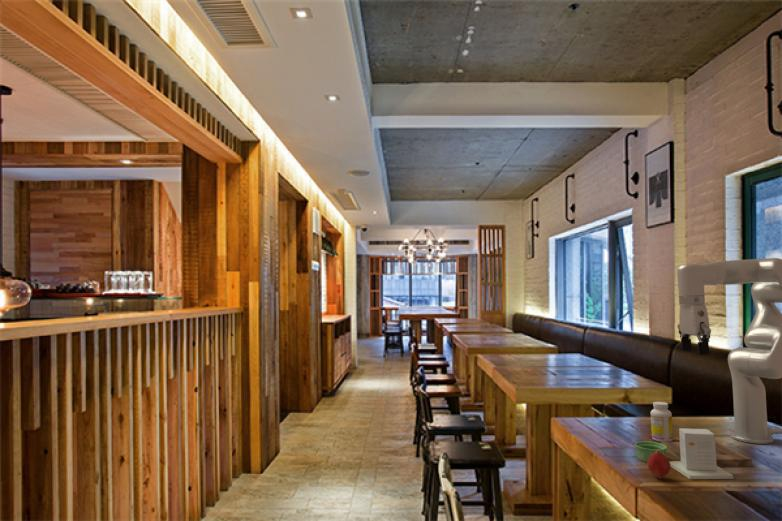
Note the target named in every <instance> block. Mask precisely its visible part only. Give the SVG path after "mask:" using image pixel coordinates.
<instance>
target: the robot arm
mask: <svg viewBox="0 0 782 521" xmlns="http://www.w3.org/2000/svg"><path fill="white" fill-rule="evenodd" d="M676 270H677V272H676V273H677V274H676V275H677V289H678V303H679V304H678V305H679V322H678V324H677V329H678V334H679V338H680V346H681V348H680V349H681V351H682V352H684V351H685V352H689V351H690V352H691V351H692V338H691V336H694V337H696V338H697V340H698V342H697V354H698V355H709V354H710V347H709V346H710V344H709V343H710V338H711V332H712V328H710V327H711V326H710V319H709V314H708V309H707V305H706V299H705V298H706V296H705V286H718V285H726V286H727V285H728V286H729V285H741V284H744V285H745V284H751V290H750V294H751V297H752V301H753V304H754V308H755V314H754V317H753V318H752V321H751V322H750V325H749V327H748V329H747V331H746V332H745V335H744V337H743V338H744V339H743V341H744V344H745V346H746V347H736V348H733V349H732V350H730V351H729V353H728V355H727V364H728V368H729V371H730V376H731V382H732V383H731V384H732V398H733V401H732V402H733V416H734V419H733V420H734V430H733V431H730V432H729V436H730V438H731V439H733V440H736V441H740V442H745V443H749V444H757V445H760V444H761V445H762V444H763V445H765V444H771V443H773V442H775V439H774V437H773V435H782V428H781V427H780V428H779V427H778V428H773V427H770V426H768V412H767V394H766V393H767V392H766V387H765V385H764V383H763V381H762V380H761V378H763V379H764V378H766V379H771V380H777V379H781V378H782V312H781V311H780V309H779V308H778V307H777V305H776V303H779V304H781V303H782V258H778V257H772V258H769V257H768V258H753V259H732V260H723V261H716V262H715V261H714V262H706V263H704V262H703V263H688V264H686V263H685V264H681V265H678V266H677V269H676Z"/></svg>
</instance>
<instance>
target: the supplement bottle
mask: <svg viewBox="0 0 782 521" xmlns="http://www.w3.org/2000/svg"><path fill="white" fill-rule="evenodd" d="M652 405H653V409H652V410H651V411H650V427H651V429H650V430H651V438H652V440H653V441H654V442H657V443H661V442H674V441H673V440H674V432H673V431H674V430H673V416H672V414H673V413H672V412H671V411H670V410H669V409H668V408H669V404H668V403H667V402H665V401H654V402H652Z"/></svg>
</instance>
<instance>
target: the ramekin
mask: <svg viewBox="0 0 782 521" xmlns="http://www.w3.org/2000/svg"><path fill="white" fill-rule="evenodd" d="M634 446H635V452H636V458H637V459H638V460H639V461H642V462H645V463H647V461H648V458H649V457H650V456H651V455H652V454H653V453H655V452H656V451H657V450H660V452H661V453H662V454H663V455H665V456H666V457H667V452H666V450H667V447H666V446H665V445H663V444H661V442H657V441H648V440H647V441H646V440H643V441H642V440H640V441H637V442H634Z"/></svg>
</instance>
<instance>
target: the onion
mask: <svg viewBox="0 0 782 521" xmlns="http://www.w3.org/2000/svg"><path fill="white" fill-rule="evenodd" d="M669 461H670V460H669V459H668V458H667V455H666V456H665V455H663V454H662V453H661V452H660V450H657V451H656V452H655V453H653V454H652V455H651V456H650V457H649V458H648V461H647V462H646V465H647V467H648V470H649V471H650V472H651V474H653V475H654V476H655V477H656V478H658V479H663V478H664V477H665V476H666V475H668V474H669V473H670V471H671V469H672V467H671V466H670V462H669Z"/></svg>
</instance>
